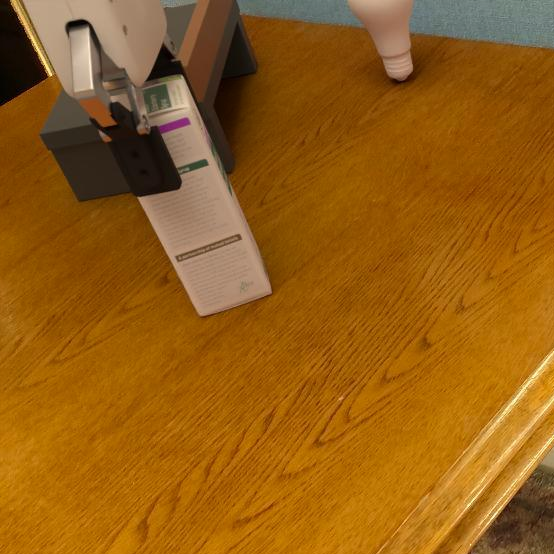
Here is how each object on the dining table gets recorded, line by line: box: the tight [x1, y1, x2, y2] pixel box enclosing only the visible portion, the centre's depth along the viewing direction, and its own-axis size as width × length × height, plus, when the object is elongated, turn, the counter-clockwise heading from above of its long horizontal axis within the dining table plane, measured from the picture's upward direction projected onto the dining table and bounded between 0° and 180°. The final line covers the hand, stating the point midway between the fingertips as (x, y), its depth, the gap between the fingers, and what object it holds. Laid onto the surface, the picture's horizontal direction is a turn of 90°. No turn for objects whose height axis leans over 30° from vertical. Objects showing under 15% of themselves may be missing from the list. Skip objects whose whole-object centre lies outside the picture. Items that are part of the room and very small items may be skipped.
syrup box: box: [110, 75, 273, 317], centre depth 70 cm, size 6×6×14 cm
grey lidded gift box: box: [38, 0, 259, 202], centre depth 91 cm, size 14×23×10 cm, turn 5°
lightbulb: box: [346, 0, 415, 82], centre depth 90 cm, size 6×6×11 cm
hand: (170, 155), depth 67 cm, fingers open, 8 cm apart
